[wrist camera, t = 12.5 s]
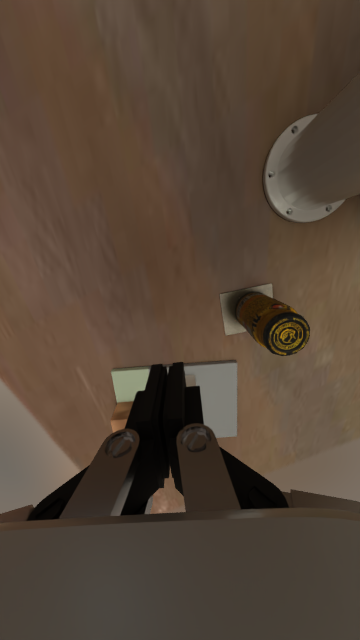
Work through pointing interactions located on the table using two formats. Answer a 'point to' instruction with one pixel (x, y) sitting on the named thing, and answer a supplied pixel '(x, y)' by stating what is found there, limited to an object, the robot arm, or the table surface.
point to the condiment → (264, 319)
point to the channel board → (210, 376)
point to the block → (120, 415)
